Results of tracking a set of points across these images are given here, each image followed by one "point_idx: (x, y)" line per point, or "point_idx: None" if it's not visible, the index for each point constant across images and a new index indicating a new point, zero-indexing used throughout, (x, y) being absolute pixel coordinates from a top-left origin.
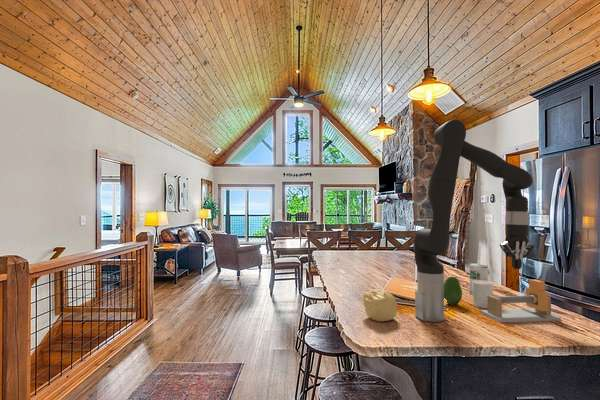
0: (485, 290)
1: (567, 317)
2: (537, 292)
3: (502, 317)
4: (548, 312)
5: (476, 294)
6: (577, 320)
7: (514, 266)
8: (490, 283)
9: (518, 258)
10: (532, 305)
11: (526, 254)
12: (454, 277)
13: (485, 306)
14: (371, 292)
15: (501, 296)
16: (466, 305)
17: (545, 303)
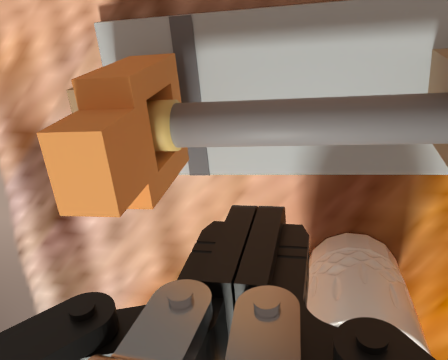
0: (382, 294)
1: (38, 70)
2: (138, 106)
3: (442, 32)
4: None
5: (413, 304)
6: (17, 22)
7: (308, 235)
8: None
9: (221, 311)
10: None
11: (46, 336)
12: None
13: (367, 238)
14: None
15: (418, 125)
16: (439, 285)
17: (129, 62)
